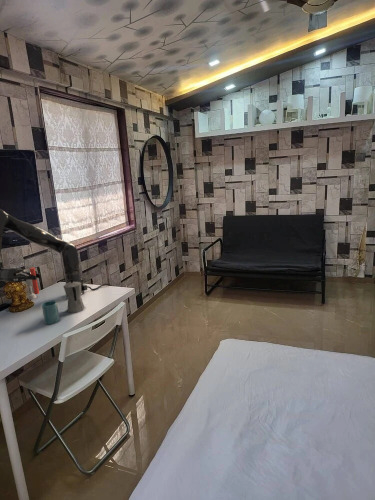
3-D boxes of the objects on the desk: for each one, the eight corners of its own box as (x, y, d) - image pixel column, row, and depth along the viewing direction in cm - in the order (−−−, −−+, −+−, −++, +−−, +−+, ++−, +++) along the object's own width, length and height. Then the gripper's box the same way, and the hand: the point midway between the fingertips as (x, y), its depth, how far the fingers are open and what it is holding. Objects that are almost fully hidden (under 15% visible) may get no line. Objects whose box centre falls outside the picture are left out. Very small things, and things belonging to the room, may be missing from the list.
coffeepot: (66, 307, 190) (61, 277, 185) (83, 303, 193) (78, 274, 189) (69, 317, 176) (64, 285, 172) (87, 313, 180) (82, 282, 176)
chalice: (33, 300, 204) (28, 272, 200) (23, 299, 206) (18, 272, 202) (40, 295, 211) (35, 268, 207) (31, 295, 213) (26, 268, 208)
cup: (54, 317, 178) (51, 299, 175) (62, 319, 174) (59, 302, 171) (42, 322, 172) (38, 304, 170) (50, 325, 168) (47, 307, 166)
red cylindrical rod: (37, 292, 175) (32, 267, 172) (40, 293, 174) (35, 267, 171) (33, 293, 173) (28, 268, 170) (36, 294, 172) (31, 269, 169)
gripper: (0, 272, 169) (26, 274, 163) (22, 264, 182) (46, 265, 176) (3, 286, 171) (29, 288, 165) (24, 277, 184) (49, 279, 178)
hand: (38, 276), depth 170 cm, fingers closed on red cylindrical rod, 2 cm apart
